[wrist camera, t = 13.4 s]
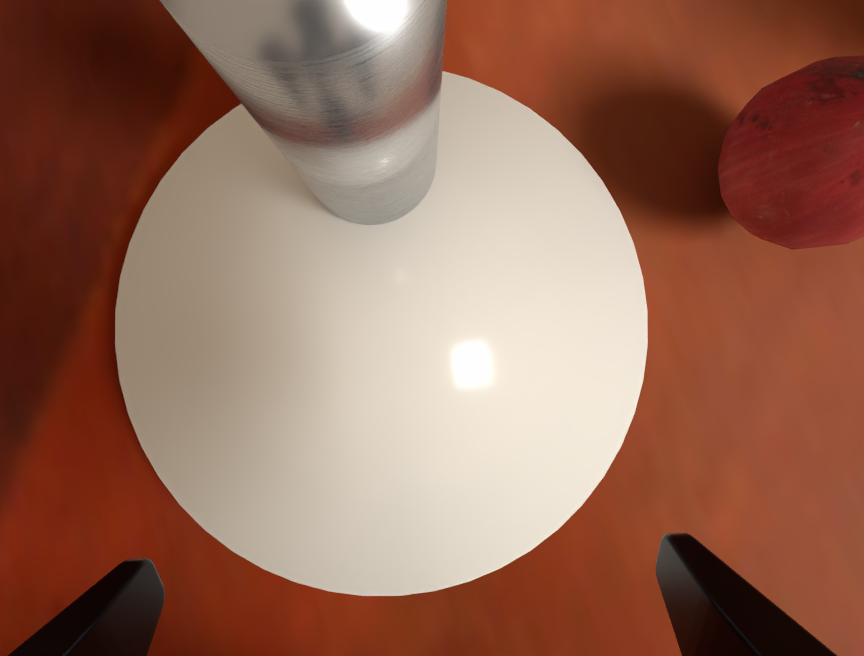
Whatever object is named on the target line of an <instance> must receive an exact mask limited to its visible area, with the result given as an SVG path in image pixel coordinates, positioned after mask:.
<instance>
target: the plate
mask: <svg viewBox="0 0 864 656" xmlns="http://www.w3.org/2000/svg"><path fill="white" fill-rule="evenodd" d="M115 349H116V357H117V365H118V373H119V381H120V385H121V388H122V392H123V396H124V400H125V404H126V408H127V411H128V415H129V417H130V420H131V422H132V425H133V427H134V430H135V432H136V435H137V437H138V439H139V442H140V444H141V447H142V449H143V450H144V452H145V454H146V456H147V457H148V459H149V461H150V463H151V464H152V466H153V468H154V470H155V471H156V473H157V475H158V477H159V478H160V479H161V481H162V482H163V483H164V485H165V486H166V487H167V489H168V490H169V491H170V492H171V494H172V495H173V496H174V498H175V499H176V500H177V502H178V503H179V504H180V505H181V506H182V508H183V509H184V510H185V511H186V512H187V513H188V514H189V515H190V516H191V517H192V518H193V519H194V520H195V521H196V522H197V523H198V524H199V525H200V526H201V527H202V528H203V529H204V530H206V531H207V532H208V533H209V534H211V535H212V536H213V537H215V538H216V539H217V540H219V541H220V542H221V543H222V544H224V545H225V546H226V547H228V548H229V549H230V550H232V551H233V552H235V553H236V554H238V555H240V556H242V557H243V558H245V559H247V560H248V561H250V562H252V563H254V564H255V565H257V566H259V567H261V568H262V569H264V570H267V571H269V572H272V573H274V574H276V575H279V576H281V577H284V578H286V579H289V580H291V581H293V582H296V583H300V584H303V585H307V586H311V587H315V588H319V589H322V590H326V591H330V592H338V593H346V594H353V595H361V596H402V595H409V594H416V593H424V592H431V591H436V590H440V589H444V588H447V587H451V586H455V585H458V584H462V583H466V582H469V581H471V580H474V579H476V578H478V577H481V576H483V575H486V574H488V573H490V572H493V571H495V570H497V569H500V568H502V567H503V566H505V565H507V564H509V563H510V562H512V561H514V560H515V559H517V558H519V557H521V556H522V555H524V554H526V553H527V552H529V551H531V550H532V549H533V548H535V547H536V546H537V545H539V544H540V543H541V542H542V541H544V540H545V539H546V538H548V537H549V536H550V535H551V534H553V533H554V532H555V531H557V530H558V529H559V528H560V527H561V526H562V525H563V524H564V523H565V522H566V521H567V520H568V519H569V518H570V517H571V516H572V515H573V514H574V513H575V512H576V511H577V510H578V509H579V508H580V507H581V506H582V505H583V503H584V502H585V501H586V499H587V498H588V497H589V496H590V494H591V493H592V492H593V490H594V489H595V488H596V486H597V485H598V484H599V482H600V481H601V480H602V478H603V477H604V475H605V474H606V472H607V470H608V468H609V467H610V465H611V463H612V461H613V460H614V458H615V456H616V454H617V453H618V451H619V449H620V447H621V445H622V443H623V441H624V438H625V436H626V433H627V431H628V428H629V426H630V423H631V421H632V418H633V416H634V413H635V409H636V406H637V402H638V398H639V394H640V390H641V387H642V383H643V377H644V370H645V362H646V354H647V305H646V298H645V290H644V283H643V276H642V273H641V269H640V265H639V262H638V258H637V254H636V250H635V247H634V243H633V241H632V238H631V236H630V234H629V231H628V229H627V226H626V224H625V222H624V219H623V217H622V214H621V212H620V210H619V209H618V207H617V205H616V203H615V202H614V200H613V198H612V196H611V195H610V193H609V191H608V190H607V188H606V186H605V184H604V183H603V181H602V180H601V179H600V177H599V176H598V175H597V173H596V172H595V171H594V169H593V168H592V167H591V165H590V164H589V163H588V162H587V160H586V159H585V158H584V156H583V155H582V154H581V153H580V152H579V151H578V150H577V149H576V148H575V147H574V146H573V145H572V144H571V143H570V142H569V141H568V140H567V139H566V138H565V137H564V136H563V135H562V134H561V133H560V132H559V131H558V130H557V129H556V128H554V127H553V126H552V125H550V124H549V123H548V122H547V121H545V120H544V119H543V118H541V117H540V116H539V115H537V114H536V113H535V112H534V111H532V110H531V109H530V108H528V107H526V106H524V105H523V104H521V103H519V102H517V101H516V100H514V99H512V98H511V97H509V96H507V95H505V94H504V93H502V92H500V91H498V90H495V89H493V88H491V87H488V86H486V85H483V84H481V83H479V82H476V81H474V80H472V79H469V78H466V77H462V76H459V75H455V74H451V73H448V72H444V71H442V84H441V100H440V115H439V131H438V147H437V162H436V170H435V175H434V179H433V182H432V184H431V187H430V189H429V191H428V192H427V194H426V196H425V197H424V198H423V200H422V201H421V202H420V203H419V204H418V205H417V206H416V207H415V208H414V209H413V210H412V211H410V212H409V213H408V214H406V215H405V216H403V217H401V218H399V219H397V220H394V221H392V222H388V223H384V224H378V225H362V224H356V223H352V222H349V221H346V220H344V219H341V218H339V217H338V216H336V215H334V214H333V213H331V212H330V211H329V210H327V209H326V208H325V207H324V206H323V205H322V204H321V203H320V202H319V201H318V199H317V198H316V197H315V195H314V194H313V193H312V192H311V190H310V189H309V188H308V187H307V185H306V184H305V183H304V182H303V180H302V179H301V178H300V177H299V175H298V174H297V173H296V172H295V170H294V169H293V168H292V166H291V165H290V164H289V163H288V161H287V160H286V159H285V158H284V156H283V155H282V154H281V153H280V151H279V150H278V149H277V148H276V146H275V145H274V144H273V143H272V141H271V140H270V139H269V137H268V136H267V135H266V134H265V132H264V131H263V130H262V129H261V127H260V126H259V125H258V124H257V122H256V121H255V120H254V119H253V117H252V116H251V115H250V114H249V112H248V111H247V110H246V108H245V107H244V106H243V105H242V104H240V105H239V106H237V107H235V108H234V109H232V110H231V111H230V112H228V113H227V114H226V115H224V116H223V117H222V118H220V119H219V120H218V121H216V122H215V123H214V124H212V125H211V126H210V127H208V128H207V129H206V130H205V131H204V132H203V133H202V134H201V135H200V136H199V137H198V138H197V139H196V140H195V141H194V142H193V143H192V144H191V145H190V146H189V147H188V148H187V149H186V150H185V151H184V152H183V153H182V154H181V155H180V157H179V158H178V159H177V160H176V162H175V163H174V164H173V166H172V167H171V168H170V169H169V171H168V172H167V173H166V174H165V176H164V177H163V178H162V180H161V181H160V183H159V185H158V186H157V188H156V190H155V191H154V193H153V195H152V196H151V198H150V200H149V201H148V203H147V205H146V206H145V208H144V210H143V212H142V214H141V217H140V219H139V222H138V224H137V226H136V229H135V231H134V233H133V236H132V238H131V240H130V243H129V246H128V250H127V254H126V257H125V261H124V264H123V268H122V272H121V275H120V282H119V289H118V296H117V303H116V310H115Z"/></svg>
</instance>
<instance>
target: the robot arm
mask: <svg viewBox="0 0 864 656" xmlns="http://www.w3.org/2000/svg"><path fill="white" fill-rule="evenodd" d="M656 575H657V580H658V583H659V586H660V589H661V592H662V595H663V598H664V602H665V605H666V608H667V611H668V614H669V617H670V620H671V623H672V626H673V629H674V632H675V635H676V639H677V642H678V645H679V648H680V651H681V654H682V656H837V655H836V654H835V653H833V652H832V651H831V650H830V649H829V648H827V647H826V646H825V645H824V644H822V643H821V642H820V641H819V640H818V639H816V638H815V637H814V636H813V635H812V634H810V633H809V632H808V631H807V630H805V629H804V628H803V627H802V626H801V625H799V624H798V623H797V622H796V621H795V620H793V619H792V618H791V617H790V616H788V615H787V614H786V613H785V612H784V611H782V610H781V609H780V608H779V607H778V606H776V605H775V604H774V603H773V602H771V601H770V600H769V599H768V598H767V597H765V596H764V595H763V594H762V593H761V592H759V591H758V590H757V589H756V588H754V587H753V586H752V585H751V584H750V583H748V582H747V581H746V580H745V579H744V578H742V577H741V576H740V575H739V574H737V573H736V572H735V571H734V570H733V569H731V568H730V567H729V566H728V565H727V564H725V563H724V562H723V561H722V560H720V559H719V558H718V557H717V556H716V555H714V554H713V553H712V552H711V551H710V550H708V549H707V548H706V547H705V546H703V545H702V544H701V543H700V542H699V541H697V540H696V539H695V538H694V537H692V536H691V535H689V534H687V533H670V534H665V535H663V537H662V539H661V542H660V547H659V552H658V557H657V562H656ZM164 599H165V589H164V586H163V584H162V581H161V579H160V577H159V575H158V572H157V570H156V568H155V566H154V563H153V562H152V561H151V560H150V559H146V558H145V559H129V560H126V561H124V562H122V563H120V564H119V565H118V566H117V567H115V568H114V569H113V570H112V571H111V572H109V573H108V574H107V575H106V576H104V577H103V578H102V579H101V580H100V581H98V582H97V583H96V584H95V585H93V586H92V587H91V588H90V589H89V590H87V591H86V592H85V593H84V594H82V595H81V596H80V597H79V598H78V599H76V600H75V601H74V602H73V603H71V604H70V605H69V606H68V607H67V608H65V609H64V610H63V611H62V612H60V613H59V614H58V615H57V616H56V617H54V618H53V619H52V620H51V621H50V622H48V623H47V624H46V625H45V626H43V627H42V628H41V629H40V630H39V631H37V632H36V633H35V634H34V635H32V636H31V637H30V638H29V639H28V640H26V641H25V642H24V643H23V644H21V645H20V646H19V647H18V648H17V649H15V650H14V651H13V652H12V653H10V654H9V655H8V656H147V654H148V651H149V648H150V645H151V641H152V638H153V635H154V632H155V629H156V626H157V623H158V620H159V617H160V613H161V610H162V607H163V604H164Z"/></svg>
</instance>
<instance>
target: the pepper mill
mask: <svg viewBox="0 0 864 656" xmlns="http://www.w3.org/2000/svg"><path fill="white" fill-rule="evenodd" d="M160 1H161V3H162V4H163V5H164V6H165V8H166V9H167V10H168V11H169V13H170V14H171V15H172V16H173V18H174V19H175V20H176V22H177V23H178V24H179V25H180V27H181V28H182V29H183V30H184V32H185V33H186V34H187V35H188V37H189V38H190V39H191V40H192V42H193V43H194V44H195V45H196V47H197V48H198V49H199V51H200V52H201V53H202V54H203V56H204V57H205V58H206V59H207V61H208V62H209V63H210V64H211V66H212V67H213V68H214V69H215V71H216V72H217V73H218V74H219V76H220V77H221V78H222V80H223V81H224V82H225V83H226V85H227V86H228V87H229V88H230V90H231V91H232V92H233V93H234V95H235V96H236V97H237V98H238V100H239V101H240V102H241V103H242V105H243V106H244V107H245V108H246V110H247V111H248V112H249V114H250V115H251V116H252V117H253V119H254V120H255V121H256V122H257V124H258V125H259V126H260V127H261V129H262V130H263V131H264V132H265V134H266V135H267V136H268V137H269V139H270V140H271V141H272V143H273V144H274V145H275V146H276V148H277V149H278V150H279V151H280V153H281V154H282V155H283V156H284V158H285V159H286V160H287V161H288V163H289V164H290V165H291V166H292V168H293V169H294V170H295V172H296V173H297V174H298V175H299V177H300V178H301V179H302V180H303V182H304V183H305V184H306V185H307V187H308V188H309V189H310V190H311V192H312V193H313V194H314V195H315V197H316V198H317V199H318V201H319V202H320V203H321V204H322V205H323V206H324V207H325V208H326V209H327V210H329V211H330V212H331V213H333V214H334V215H336V216H338V217H339V218H341V219H344V220H346V221H349V222H352V223H356V224H362V225H378V224H384V223H388V222H392V221H394V220H397V219H399V218H401V217H403V216H405V215H406V214H408V213H409V212H410V211H412V210H413V209H414V208H415V207H416V206H417V205H418V204H419V203H420V202H421V201H422V200H423V198H424V197H425V196H426V194H427V192H428V191H429V189H430V187H431V184H432V182H433V179H434V175H435V170H436V162H437V147H438V131H439V115H440V100H441V84H442V69H443V53H444V37H445V22H446V6H447V0H160Z"/></svg>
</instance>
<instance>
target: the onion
mask: <svg viewBox="0 0 864 656" xmlns="http://www.w3.org/2000/svg"><path fill="white" fill-rule="evenodd" d="M718 177H719V185H720V193H721V197H722V199H723V201H724V203H725V205H726V206H727V208H728V210H729V212H730V214H731V216H732V218H733V219H735V220H736V221H737V222H738V223H739V224H740V225H742V226H743V227H744V228H745V229H746V230H748V231H749V232H750V233H751V234H753V235H755V236H757V237H759V238H761V239H763V240H766V241H769V242H772V243H775V244H778V245H781V246H784V247H787V248H790V249H801V248H813V247H823V246H832V245H841V244H847V243H850V242H852V241H855V240H857V239H859V238H862V237H864V56H846V57H834V58H829V59H825V60H820V61H816V62H814V63H812V64H810V65H808V66H806V67H804V68H802V69H800V70H798V71H795V72H793V73H791V74H789V75H787V76H785V77H783V78H781V79H779V80H777V81H775V82H773V83H771V84H769V85H768V86H766V87H764V88H762V89H761V90H760V91H759V92H758V93H757V94H756V95H755V96H754V97H753V98H752V99H751V100H750V101H749V102H748V103H747V105H746V106H745V107H744V108H743V110H742V111H741V112H740V113H739V115H738V116H737V117H736V118H735V120H734V121H733V122H732V124H731V125H730V126H729V127H728V129H727V130H726V131H725V136H724V140H723V144H722V149H721V153H720V158H719V162H718Z"/></svg>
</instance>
